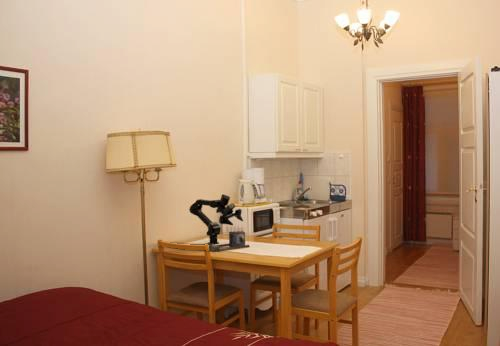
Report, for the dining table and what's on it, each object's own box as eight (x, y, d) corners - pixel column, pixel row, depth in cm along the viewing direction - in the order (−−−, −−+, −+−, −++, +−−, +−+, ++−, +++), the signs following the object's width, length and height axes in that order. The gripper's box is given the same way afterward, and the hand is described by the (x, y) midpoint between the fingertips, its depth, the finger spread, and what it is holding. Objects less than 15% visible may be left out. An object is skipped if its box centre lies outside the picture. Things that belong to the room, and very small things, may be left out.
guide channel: (205, 248, 329) (205, 244, 328) (238, 244, 343) (238, 240, 343) (216, 251, 316) (215, 247, 316) (249, 247, 331) (249, 242, 331)
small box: (231, 248, 329) (230, 233, 329) (228, 246, 336) (228, 231, 336) (245, 246, 332) (245, 232, 332) (243, 245, 339) (242, 230, 338)
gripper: (215, 205, 330) (229, 217, 321) (235, 198, 342) (249, 209, 333) (213, 218, 336) (227, 230, 327) (233, 210, 348) (247, 222, 338)
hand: (237, 222), depth 331 cm, fingers open, 9 cm apart
